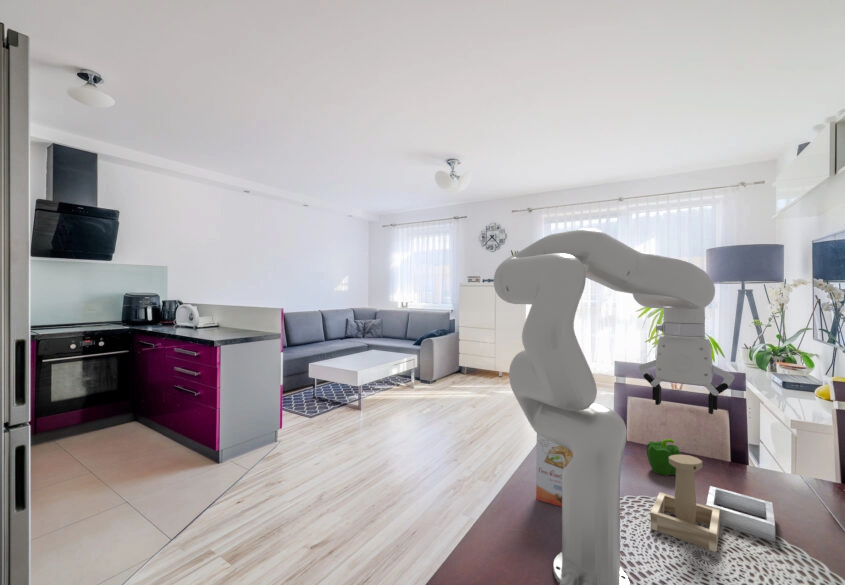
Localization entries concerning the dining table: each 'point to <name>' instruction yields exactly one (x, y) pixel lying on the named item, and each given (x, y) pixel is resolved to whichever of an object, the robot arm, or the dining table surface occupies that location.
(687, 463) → the handle
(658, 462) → the bell pepper
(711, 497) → the socket block
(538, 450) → the cracker box
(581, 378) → the robot arm
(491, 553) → the dining table surface
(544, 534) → the dining table surface
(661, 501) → the frame
